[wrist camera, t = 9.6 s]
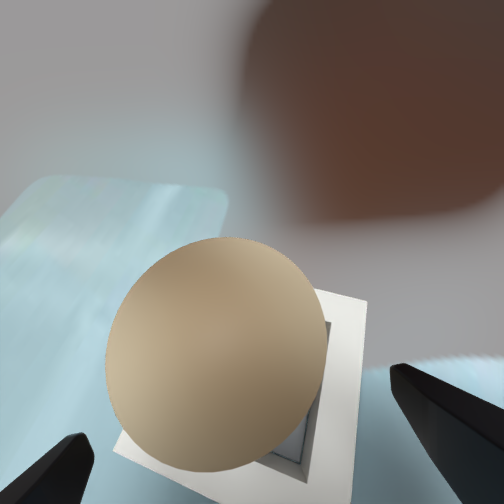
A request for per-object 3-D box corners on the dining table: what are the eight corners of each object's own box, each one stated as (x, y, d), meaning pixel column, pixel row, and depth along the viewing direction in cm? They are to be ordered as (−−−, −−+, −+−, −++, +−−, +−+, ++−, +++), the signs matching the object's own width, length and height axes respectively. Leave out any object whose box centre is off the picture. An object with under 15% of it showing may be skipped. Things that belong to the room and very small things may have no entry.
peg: (262, 435, 16) (212, 562, 4) (209, 379, 18) (65, 342, 6) (306, 370, 17) (370, 312, 5) (253, 325, 19) (214, 209, 7)
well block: (328, 523, 14) (345, 565, 10) (147, 440, 16) (112, 450, 13) (351, 318, 19) (367, 301, 16) (213, 282, 22) (201, 260, 19)
